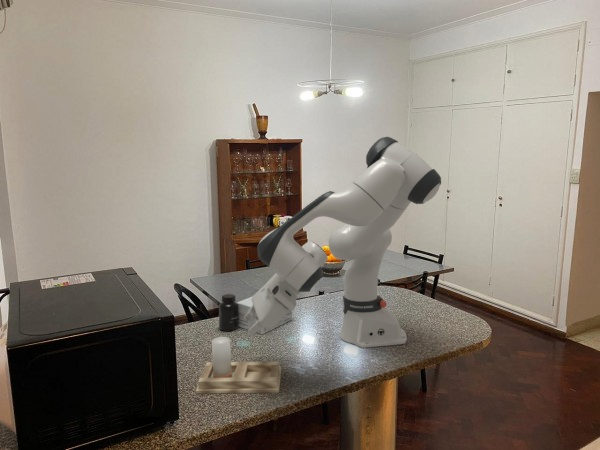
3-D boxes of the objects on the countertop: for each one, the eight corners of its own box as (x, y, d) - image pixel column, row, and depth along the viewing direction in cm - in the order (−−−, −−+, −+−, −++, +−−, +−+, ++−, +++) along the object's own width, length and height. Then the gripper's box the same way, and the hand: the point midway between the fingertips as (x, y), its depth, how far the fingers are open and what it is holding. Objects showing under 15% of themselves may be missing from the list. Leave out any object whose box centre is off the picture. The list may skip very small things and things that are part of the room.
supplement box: (266, 312, 175) (266, 290, 174) (292, 320, 167) (292, 296, 166) (236, 326, 162) (235, 301, 160) (262, 334, 154) (261, 309, 152)
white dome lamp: (233, 372, 126) (231, 336, 124) (230, 382, 121) (228, 344, 119) (215, 373, 126) (213, 336, 124) (211, 382, 121) (209, 344, 119)
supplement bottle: (236, 331, 157) (236, 299, 155) (217, 331, 157) (216, 298, 155) (239, 324, 164) (239, 293, 162) (221, 324, 164) (221, 292, 162)
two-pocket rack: (281, 368, 130) (281, 359, 129) (278, 392, 117) (278, 382, 116) (206, 369, 130) (206, 360, 129) (195, 393, 117) (195, 383, 117)
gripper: (267, 272, 134) (236, 306, 133) (279, 294, 114) (243, 333, 113) (282, 285, 135) (251, 319, 135) (297, 309, 116) (260, 348, 115)
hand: (247, 326), depth 124 cm, fingers open, 8 cm apart
